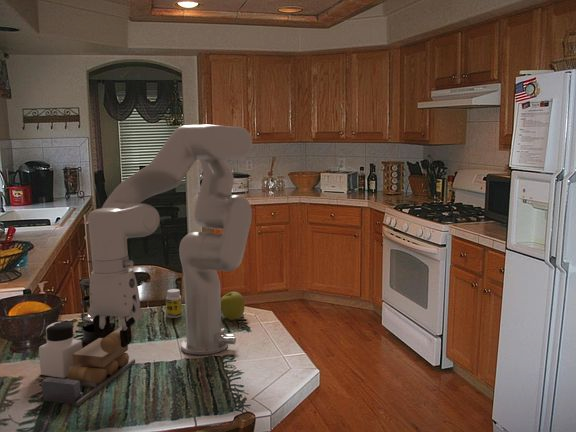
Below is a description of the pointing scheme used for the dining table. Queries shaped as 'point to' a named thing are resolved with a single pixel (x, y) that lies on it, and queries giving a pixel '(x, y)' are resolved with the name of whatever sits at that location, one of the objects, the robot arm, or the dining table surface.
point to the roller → (112, 340)
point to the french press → (90, 318)
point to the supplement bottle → (173, 303)
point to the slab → (96, 355)
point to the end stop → (61, 390)
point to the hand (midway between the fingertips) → (117, 343)
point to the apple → (232, 305)
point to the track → (97, 375)
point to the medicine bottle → (58, 350)
